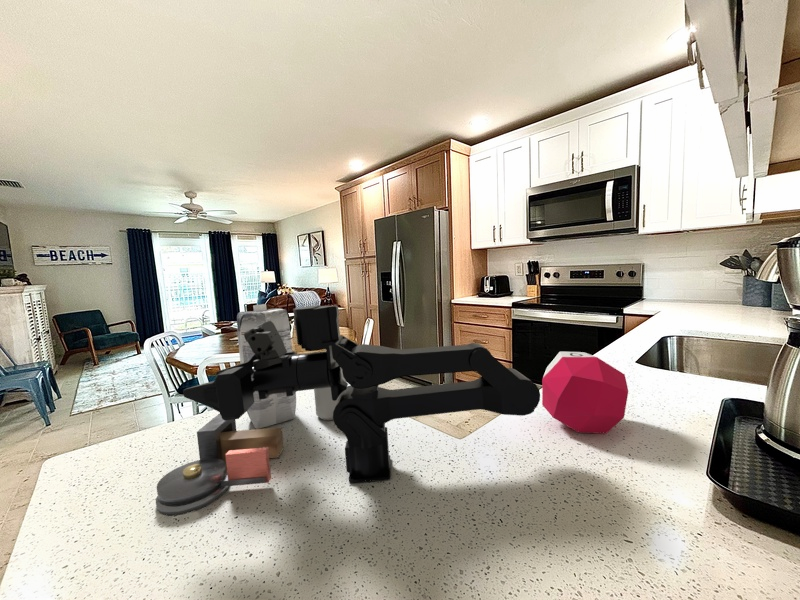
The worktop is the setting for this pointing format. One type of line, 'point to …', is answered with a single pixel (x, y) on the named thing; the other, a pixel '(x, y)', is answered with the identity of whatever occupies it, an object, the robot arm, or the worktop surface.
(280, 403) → the juice carton
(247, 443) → the brown rectangular bar
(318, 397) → the can
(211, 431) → the iron eye
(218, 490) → the disc
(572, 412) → the decorative object
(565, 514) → the worktop surface
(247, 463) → the handwheel
